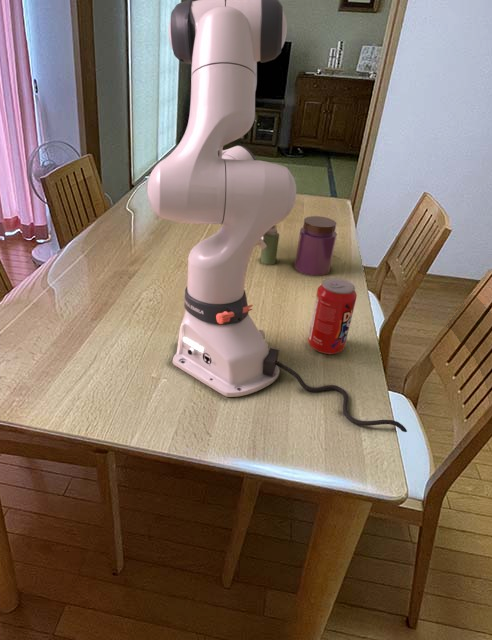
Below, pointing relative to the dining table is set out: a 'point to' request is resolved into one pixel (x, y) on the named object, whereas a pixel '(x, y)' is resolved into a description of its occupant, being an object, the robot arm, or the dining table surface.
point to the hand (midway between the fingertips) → (269, 241)
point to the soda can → (332, 315)
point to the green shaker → (270, 247)
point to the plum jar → (316, 245)
